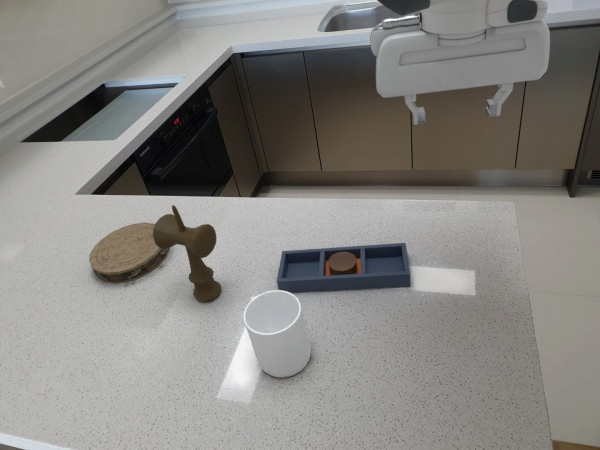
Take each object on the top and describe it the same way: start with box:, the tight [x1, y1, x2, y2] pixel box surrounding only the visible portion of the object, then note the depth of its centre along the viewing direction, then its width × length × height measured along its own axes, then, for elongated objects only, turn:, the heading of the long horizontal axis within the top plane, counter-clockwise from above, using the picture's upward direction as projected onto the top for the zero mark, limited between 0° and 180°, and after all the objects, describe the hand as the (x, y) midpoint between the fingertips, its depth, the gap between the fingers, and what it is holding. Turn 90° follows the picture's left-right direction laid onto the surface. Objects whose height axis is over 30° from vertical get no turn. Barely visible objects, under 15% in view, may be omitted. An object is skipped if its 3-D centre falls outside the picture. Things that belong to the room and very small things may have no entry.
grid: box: [276, 242, 411, 294], centre depth 82 cm, size 8×23×3 cm, turn 85°
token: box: [328, 252, 358, 275], centre depth 82 cm, size 5×5×2 cm
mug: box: [242, 289, 312, 378], centre depth 69 cm, size 12×8×10 cm
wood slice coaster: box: [88, 222, 170, 284], centre depth 97 cm, size 16×16×3 cm
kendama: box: [153, 204, 222, 302], centre depth 79 cm, size 6×10×20 cm, turn 61°
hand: (455, 118), depth 61 cm, fingers open, 8 cm apart
